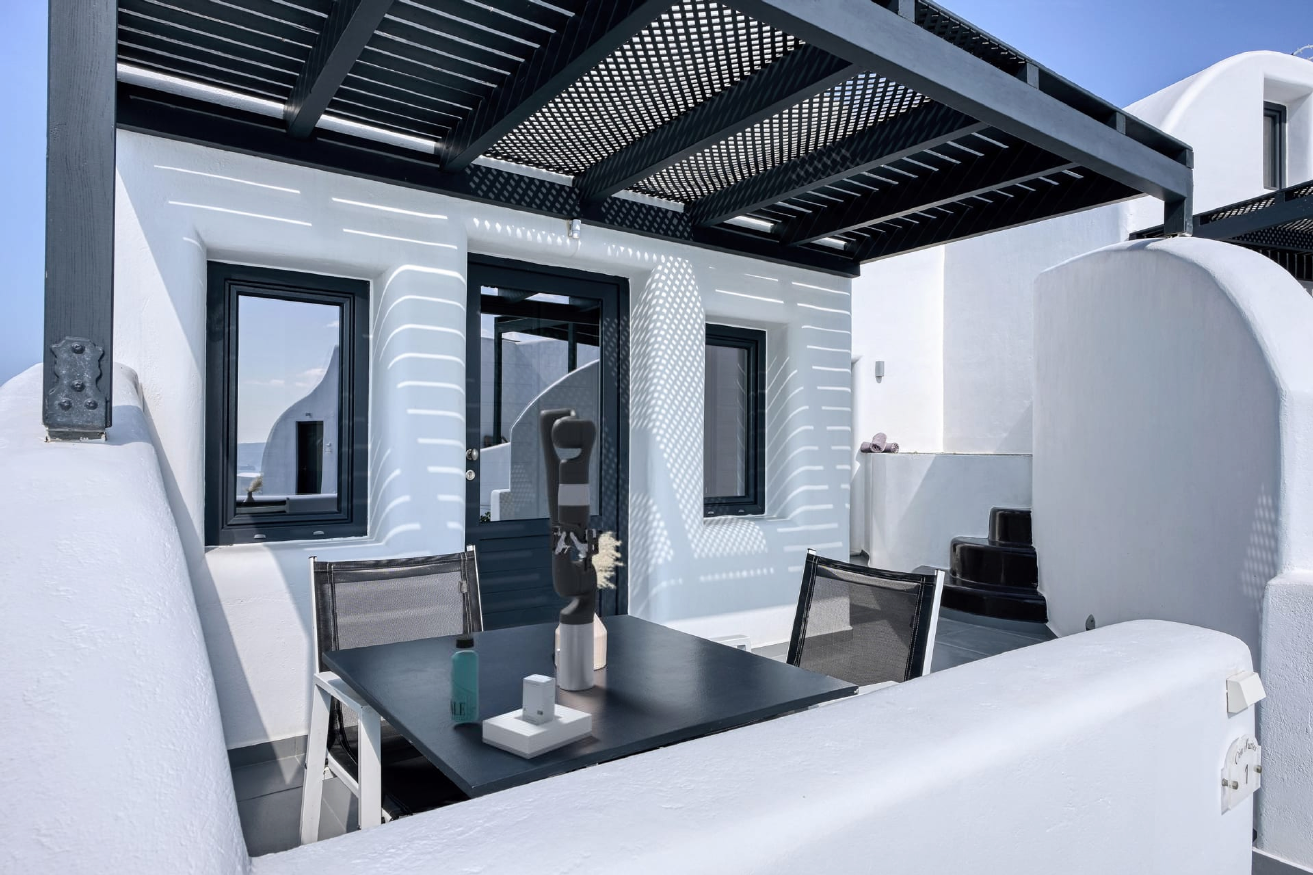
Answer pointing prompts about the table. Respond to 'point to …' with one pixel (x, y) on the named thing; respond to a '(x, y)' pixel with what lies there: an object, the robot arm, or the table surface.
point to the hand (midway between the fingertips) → (574, 571)
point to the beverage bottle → (464, 682)
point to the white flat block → (536, 731)
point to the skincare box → (538, 699)
